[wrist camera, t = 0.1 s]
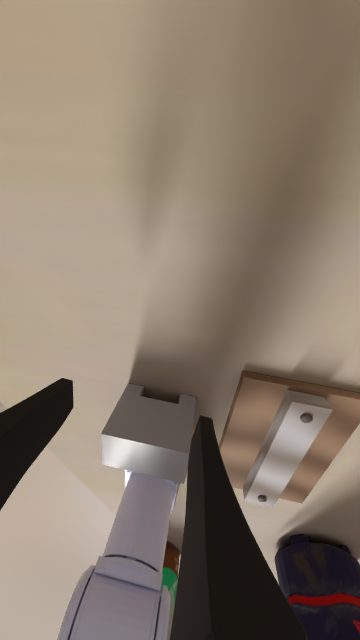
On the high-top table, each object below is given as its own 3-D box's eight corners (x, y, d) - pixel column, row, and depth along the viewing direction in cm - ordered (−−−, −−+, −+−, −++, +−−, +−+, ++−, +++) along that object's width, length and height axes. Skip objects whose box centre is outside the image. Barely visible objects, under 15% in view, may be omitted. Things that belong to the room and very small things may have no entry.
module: (193, 424, 25) (187, 484, 20) (127, 410, 26) (102, 464, 20) (199, 397, 24) (194, 454, 18) (128, 383, 24) (100, 433, 18)
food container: (190, 566, 42) (183, 658, 33) (161, 562, 44) (147, 650, 35) (178, 535, 38) (167, 633, 29) (146, 532, 39) (126, 624, 30)
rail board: (299, 494, 28) (307, 520, 25) (210, 473, 29) (209, 496, 26) (367, 394, 20) (388, 417, 18) (242, 370, 21) (246, 389, 19)
